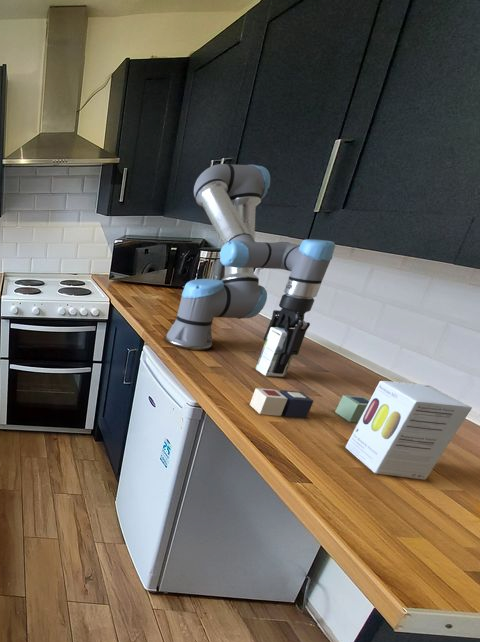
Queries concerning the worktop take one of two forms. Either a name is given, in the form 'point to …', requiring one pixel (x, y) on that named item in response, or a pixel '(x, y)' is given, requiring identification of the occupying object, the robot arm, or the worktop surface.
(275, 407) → the block
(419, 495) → the worktop surface
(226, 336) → the worktop surface
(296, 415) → the block
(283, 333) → the syrup box
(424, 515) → the worktop surface
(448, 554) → the worktop surface
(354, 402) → the block
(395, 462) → the supplement box
